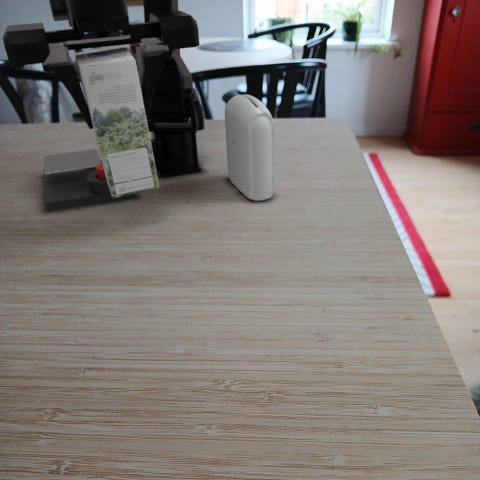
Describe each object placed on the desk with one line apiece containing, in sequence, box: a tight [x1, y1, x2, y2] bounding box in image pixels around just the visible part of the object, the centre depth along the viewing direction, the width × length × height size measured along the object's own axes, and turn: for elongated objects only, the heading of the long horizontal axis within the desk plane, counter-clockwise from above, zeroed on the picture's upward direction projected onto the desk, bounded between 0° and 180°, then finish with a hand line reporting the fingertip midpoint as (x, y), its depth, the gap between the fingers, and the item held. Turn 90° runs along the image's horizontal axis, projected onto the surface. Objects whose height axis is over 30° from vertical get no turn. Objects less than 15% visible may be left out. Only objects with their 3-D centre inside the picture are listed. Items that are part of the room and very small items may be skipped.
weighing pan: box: [42, 148, 101, 176], centre depth 76 cm, size 8×8×1 cm
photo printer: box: [224, 94, 275, 202], centre depth 70 cm, size 10×4×12 cm, turn 20°
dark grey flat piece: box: [42, 159, 137, 213], centre depth 75 cm, size 12×14×3 cm
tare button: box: [96, 164, 107, 180], centre depth 71 cm, size 3×3×2 cm
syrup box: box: [74, 46, 160, 198], centre depth 57 cm, size 6×6×14 cm
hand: (118, 124), depth 57 cm, fingers closed on syrup box, 6 cm apart
